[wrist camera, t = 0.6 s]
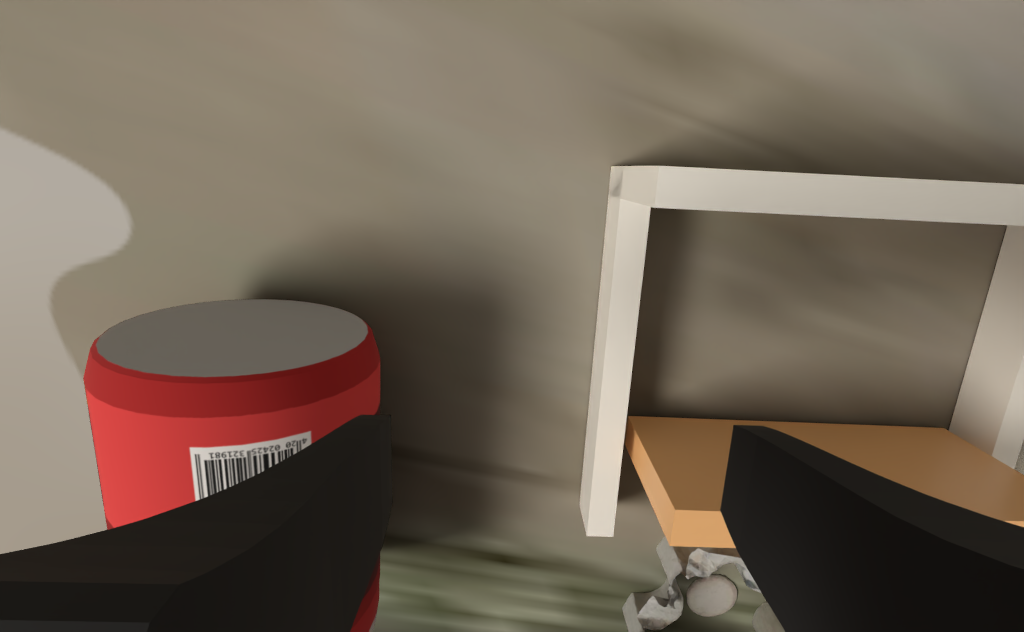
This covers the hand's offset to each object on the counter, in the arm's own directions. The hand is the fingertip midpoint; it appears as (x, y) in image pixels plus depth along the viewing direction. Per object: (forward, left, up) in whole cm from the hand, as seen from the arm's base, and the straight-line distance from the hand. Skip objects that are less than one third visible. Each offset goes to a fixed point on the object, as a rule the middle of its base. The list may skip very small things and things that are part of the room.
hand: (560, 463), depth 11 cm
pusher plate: (-4, -10, -10) cm, 14 cm away
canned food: (+1, +9, -6) cm, 11 cm away
